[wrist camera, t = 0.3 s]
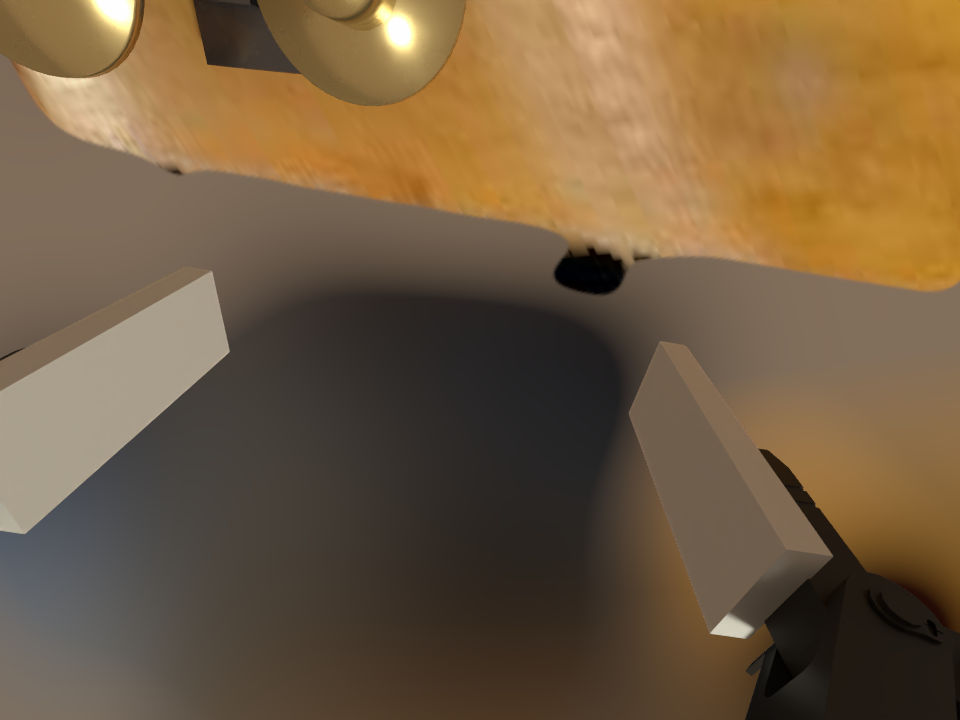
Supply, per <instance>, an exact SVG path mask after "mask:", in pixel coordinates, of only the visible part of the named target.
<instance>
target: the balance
mask: <svg viewBox="0 0 960 720" xmlns="http://www.w3.org/2000/svg"><path fill="white" fill-rule="evenodd" d="M194 5H195V10H196V14H197V19H198V23H199V28H200V32H201V37H202V42H203V46H204V51H205V55H206V60H207V64H208V65H216V66H224V67H233V68H243V69H253V70H263V71H274V72H284V73H294V74H302V75H303V76H304V77H305V78H307V79H308V80H309V81H310V82H311V83H313V84H314V85H315V86H317V87H318V88H320V89H321V90H323V91H324V92H326V93H327V94H330V95H332V96H334V97H336V98H338V99H340V100H343V101H346V102H349V103H353V104H358V105H364V106H382V105H389V104H394V103H397V102H400V101H404V100H406V99H408V98H410V97H412V96H414V95H415V94H417V93H418V92H420V91H421V90H423V89H424V88H425V87H426V86H427V85H428V84H429V83H431V82H432V81H433V80H434V79H435V77H436V76H437V75H438V74H439V72H440V71H441V70H442V69H443V67H444V66H445V64H446V62H447V61H448V59H449V57H450V56H451V54H452V51H453V49H454V47H455V45H456V43H457V40H458V37H459V34H460V31H461V27H462V24H463V19H464V14H465V9H466V0H194ZM143 14H144V0H0V53H1V54H3V55H4V56H6V57H8V58H9V59H11V60H13V61H15V62H17V63H18V64H20V65H23V66H25V67H27V68H29V69H32V70H34V71H37V72H40V73H44V74H47V75H52V76H57V77H65V78H91V77H97V76H100V75H103V74H106V73H108V72H110V71H112V70H113V69H115V68H117V67H118V66H119V65H120V64H121V63H122V62H123V61H124V60H125V59H126V58H127V57H128V56H129V54H130V53H131V51H132V50H133V48H134V46H135V44H136V41H137V39H138V37H139V34H140V30H141V26H142V22H143Z"/></svg>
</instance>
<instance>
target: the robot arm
mask: <svg viewBox="0 0 960 720" xmlns="http://www.w3.org/2000/svg"><path fill="white" fill-rule="evenodd" d="M228 353H229V347H228V342H227V337H226V333H225V328H224V324H223V319H222V315H221V311H220V306H219V301H218V296H217V292H216V288H215V283H214V278H213V274H212V271H209V270H203V269H197V268H190V267H184V268H182V269H180V270H178V271H176V272H174V273H172V274H170V275H168V276H166V277H164V278H162V279H160V280H158V281H156V282H154V283H152V284H151V285H148V286H146V287H144V288H142V289H141V290H138V291H137V292H135V293H133V294H131V295H129V296H127V297H125V298H123V299H121V300H119V301H117V302H115V303H113V304H111V305H109V306H107V307H105V308H103V309H101V310H99V311H97V312H95V313H93V314H92V315H89V316H87V317H86V318H84V319H82V320H80V321H78V322H76V323H74V324H72V325H70V326H68V327H66V328H64V329H62V330H60V331H58V332H56V333H54V334H52V335H50V336H48V337H46V338H44V339H42V340H40V341H38V342H37V343H34V344H33V345H31V346H29V347H27V348H23V349H20V350H17V351H14V352H12V353H10V354H8V355H6V356H4V357H2V358H0V530H1V531H8V532H15V533H21V534H25V533H26V532H28V531H29V530H30V529H31V528H32V527H33V526H34V525H35V524H37V523H38V522H39V521H40V520H41V519H42V518H43V517H44V516H46V515H47V514H48V513H49V512H50V511H51V510H52V509H54V508H55V507H56V506H57V505H58V504H59V503H60V502H61V501H63V499H65V498H66V497H67V496H68V495H69V494H70V493H71V492H73V490H75V489H76V488H77V487H78V486H79V485H80V484H81V483H83V482H84V481H85V480H86V479H87V478H88V477H89V476H91V475H92V474H93V473H94V472H95V471H96V470H97V469H99V468H100V467H101V466H102V465H103V464H104V463H105V462H106V461H107V460H109V459H110V458H111V457H112V456H113V455H114V454H115V453H116V452H118V451H119V450H120V449H121V448H122V447H123V446H124V445H125V444H127V443H128V442H129V441H130V440H131V439H132V438H133V437H134V436H136V435H137V434H138V433H139V432H140V431H141V430H142V429H143V428H145V427H146V426H147V425H148V424H149V423H150V422H151V421H152V420H153V419H155V418H156V417H157V416H158V415H159V414H160V413H161V412H163V411H164V410H165V409H166V408H167V407H168V406H169V405H170V404H172V403H173V402H174V401H175V400H176V399H177V398H178V397H179V396H181V395H182V394H183V393H184V392H185V391H186V390H187V389H188V388H190V387H191V385H193V384H194V383H195V382H196V381H197V380H198V379H200V378H201V377H202V376H203V375H204V374H205V373H206V372H208V371H209V370H210V369H211V368H212V367H213V366H214V365H215V364H217V363H218V362H219V361H220V360H221V359H222V358H223V357H224V356H225V355H227V354H228ZM629 415H630V418H631V421H632V423H633V426H634V429H635V432H636V434H637V437H638V440H639V443H640V445H641V448H642V451H643V453H644V456H645V459H646V462H647V464H648V467H649V470H650V472H651V475H652V478H653V480H654V483H655V486H656V489H657V491H658V494H659V497H660V499H661V502H662V505H663V508H664V511H665V513H666V516H667V519H668V521H669V524H670V527H671V530H672V532H673V535H674V538H675V540H676V543H677V546H678V549H679V551H680V554H681V557H682V559H683V562H684V565H685V567H686V570H687V573H688V576H689V578H690V581H691V584H692V587H693V589H694V592H695V595H696V597H697V600H698V603H699V605H700V608H701V611H702V614H703V616H704V619H705V622H706V625H707V627H708V630H709V633H710V634H718V635H724V636H732V637H738V638H745V639H749V638H750V637H751V636H752V635H753V634H754V633H755V632H756V631H757V630H758V629H759V628H760V627H761V626H762V625H763V624H766V626H767V628H768V630H769V632H770V634H771V636H772V638H773V640H774V644H772V645H771V646H770V647H769V648H768V649H767V650H766V651H765V652H764V653H762V654H761V655H760V656H759V657H758V658H757V659H756V660H755V661H754V662H753V663H752V664H751V665H750V666H749V667H748V669H747V670H746V672H748V673H749V674H750V675H751V676H752V675H753V674H755V673H756V672H757V671H758V670H759V669H761V670H760V673H759V676H758V679H757V683H756V686H755V689H754V692H753V696H752V699H751V702H750V705H749V709H748V712H747V715H746V718H745V720H960V633H958V632H955V631H953V630H950V629H948V628H945V627H943V626H942V625H941V624H940V622H939V621H938V619H937V618H936V617H935V615H934V614H933V613H932V612H931V611H930V610H929V609H928V608H927V607H926V606H925V605H923V603H922V602H921V601H920V600H918V599H917V598H916V597H915V596H913V595H912V594H911V593H909V592H908V591H906V590H905V589H904V588H902V587H901V586H899V585H898V584H896V583H894V582H892V581H890V580H888V579H886V578H884V577H882V576H880V575H876V574H873V573H868V572H866V570H865V569H864V568H863V567H862V565H861V564H860V563H859V561H858V560H857V558H856V557H855V556H854V554H853V553H852V552H851V550H850V549H849V548H848V546H847V545H846V544H845V542H844V541H843V540H842V538H841V537H840V536H839V534H838V533H837V532H836V530H835V529H834V528H833V526H832V525H831V524H830V522H829V521H828V520H827V518H826V517H825V516H824V514H823V513H822V512H821V510H820V509H819V508H816V507H815V502H814V501H813V500H812V498H811V497H810V496H809V494H808V493H807V492H806V491H803V487H802V485H801V483H800V482H799V481H798V479H797V478H796V477H795V475H794V474H793V473H792V472H791V470H790V469H789V468H788V467H787V466H786V465H785V464H784V463H782V462H781V461H780V460H779V459H778V458H776V457H775V456H774V455H773V454H772V453H770V451H768V450H764V449H758V448H757V447H756V445H755V444H754V442H753V441H752V439H751V438H750V437H749V435H748V434H747V432H746V431H745V430H744V428H743V427H742V425H741V424H740V423H739V421H738V420H737V418H736V417H735V415H734V414H733V412H732V411H731V410H730V408H729V407H728V405H727V404H726V402H725V401H724V400H723V398H722V397H721V395H720V394H719V392H718V391H717V390H716V388H715V387H714V385H713V384H712V383H711V381H710V380H709V378H708V377H707V376H706V374H705V372H704V371H703V370H702V369H701V367H700V365H699V364H698V363H697V361H696V360H695V358H694V357H693V355H692V354H691V353H690V351H689V350H688V348H687V347H686V346H685V345H680V344H673V343H667V342H661V341H660V342H659V345H658V347H657V349H656V351H655V354H654V356H653V358H652V361H651V363H650V365H649V368H648V370H647V372H646V375H645V377H644V379H643V381H642V384H641V386H640V388H639V391H638V393H637V395H636V398H635V400H634V402H633V405H632V407H631V409H630V411H629Z"/></svg>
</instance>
